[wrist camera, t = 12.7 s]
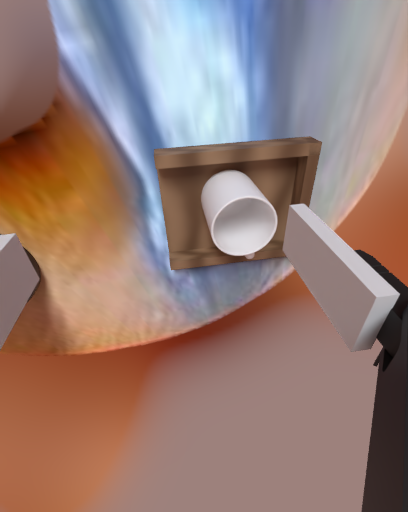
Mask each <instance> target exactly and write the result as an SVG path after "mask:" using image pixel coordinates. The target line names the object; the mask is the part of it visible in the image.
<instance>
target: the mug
mask: <svg viewBox="0 0 408 512" xmlns="http://www.w3.org/2000/svg"><path fill="white" fill-rule="evenodd" d="M201 203H202V208H203V211H204V214H205V217H206V221H207V224H208V227H209V230H210V233H211V237H212V240H213V242H214V244H215V245H216V246H217V247H218V248H219V249H220V250H221V251H223V252H224V253H227V254H229V255H234V256H244V255H245V257H246V258H247V259H252V258H253V257H254V255H255V252H257V251H259V250H260V249H262V248H263V247H264V246H266V245H267V244H268V243H269V241H270V240H271V239H272V237H273V236H274V234H275V231H276V228H277V214H276V211H275V209H274V207H273V206H272V205H271V203H270V202H269V201H268V200H267V199H266V197H265V196H264V195H263V194H262V192H261V191H260V190H259V189H258V188H257V186H256V185H255V184H254V183H253V181H252V180H251V179H250V178H249V177H248V176H247V175H245V174H244V173H242V172H240V171H237V170H224V171H220V172H218V173H216V174H215V175H213V176H212V177H211V178H210V179H209V180H208V181H207V182H206V184H205V185H204V187H203V190H202V194H201Z"/></svg>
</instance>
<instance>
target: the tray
mask: <svg viewBox="0 0 408 512" xmlns="http://www.w3.org/2000/svg"><path fill="white" fill-rule="evenodd" d="M321 145H322V142H321V141H318V140H316V139H314V138H312V137H299V138H286V139H274V140H262V141H249V142H237V143H225V144H213V145H200V146H188V147H176V148H163V149H154V160H155V166H156V169H157V172H158V179H159V186H160V193H161V200H162V206H163V213H164V220H165V227H166V234H167V240H168V247H169V256H170V267H171V270H177V269H185V268H193V267H202V266H210V265H218V264H226V263H235V262H243V261H251V260H259V259H268V258H276V257H284V256H286V255H285V253H284V252H283V243H284V237H285V230H286V224H287V218H288V211H289V205H295V204H305V205H306V206H307V207H308V208H309V204H310V199H311V195H312V190H313V185H314V180H315V175H316V170H317V165H318V160H319V155H320V150H321ZM224 170H237V171H240V172H242V173H244V174H245V175H247V176H248V177H249V178H250V179H251V180H252V181H253V183H254V184H255V185H256V186H257V188H258V189H259V190H260V191H261V192H262V194H263V195H264V196H265V197H266V199H267V200H268V201H269V202H270V203H271V205H272V206H273V207H274V209H275V211H276V214H277V228H276V231H275V234H274V236H273V237H272V239H271V240H270V241H269V243H268V244H267V245H266V246H264V247H263V248H262V249H260V250H259V251H257V252H255V255H254V257H253V258H252V259H247V258H246V257H245V255H244V256H234V255H229V254H227V253H224V252H223V251H221V250H220V249H219V248H218V247H217V246H216V245H215V244H214V242H213V240H212V237H211V233H210V230H209V227H208V224H207V221H206V217H205V214H204V211H203V208H202V203H201V194H202V190H203V187H204V185H205V184H206V182H207V181H208V180H209V179H210V178H211V177H212V176H213V175H215V174H216V173H218V172H220V171H224Z"/></svg>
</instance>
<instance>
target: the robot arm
mask: <svg viewBox="0 0 408 512" xmlns="http://www.w3.org/2000/svg"><path fill="white" fill-rule="evenodd" d="M283 252H284V253H285V255H286V256H287V258H288V259H289V261H290V262H291V264H292V265H293V267H294V268H295V269H296V271H297V272H298V274H299V275H300V277H301V278H302V280H303V281H304V283H305V284H306V286H307V287H308V289H309V290H310V292H311V293H312V295H313V296H314V297H315V299H316V300H317V302H318V303H319V305H320V306H321V308H322V309H323V311H324V312H325V314H326V315H327V317H328V318H329V320H330V321H331V323H332V324H333V326H334V327H335V329H336V330H337V332H338V333H339V335H340V336H341V338H342V339H343V341H344V342H345V344H346V345H347V346H348V348H349V349H350V351H351V352H354V351H360V350H367V349H371V348H372V346H373V344H374V342H375V340H376V338H377V339H378V340H379V342H380V343H381V344H382V345H383V348H382V350H381V352H380V354H379V355H378V357H377V359H376V360H375V362H374V366H377V365H378V363H379V369H378V377H377V385H376V394H375V402H374V411H373V419H372V428H371V437H370V445H369V453H368V462H367V470H366V479H365V487H364V496H363V505H362V512H408V287H407V286H405V285H404V284H403V283H402V282H401V281H400V280H399V279H397V278H396V277H395V276H394V275H393V274H392V273H389V271H388V270H387V269H386V268H385V267H384V266H382V265H381V263H379V262H378V261H377V260H376V259H375V258H374V257H373V256H371V255H369V254H367V253H365V252H363V251H361V250H353V249H352V248H351V247H349V246H348V245H347V244H346V243H345V242H344V241H343V240H342V239H341V238H340V237H338V235H337V234H336V233H335V232H334V231H333V230H332V229H330V228H329V227H328V226H327V225H326V224H325V223H324V222H323V221H322V220H321V219H320V218H319V217H318V216H317V215H316V214H315V213H313V212H312V211H311V210H310V209H309V208H308V207H307V206H306V205H305V204H295V205H289V211H288V218H287V224H286V230H285V237H284V243H283ZM39 283H40V270H39V267H38V265H37V263H36V261H35V260H34V258H33V257H32V256H31V254H30V253H29V252H28V251H27V250H26V249H24V248H23V247H22V245H21V243H20V241H19V239H18V237H17V235H16V234H6V235H1V234H0V350H1V348H2V346H3V344H4V342H5V341H6V339H7V337H8V335H9V333H10V332H11V330H12V328H13V326H14V324H15V323H16V321H17V319H18V317H19V315H20V314H21V312H22V310H23V308H24V306H25V305H26V303H27V302H28V301H29V300H30V299H31V298H32V296H33V295H34V293H35V291H36V289H37V288H38V286H39Z"/></svg>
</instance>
